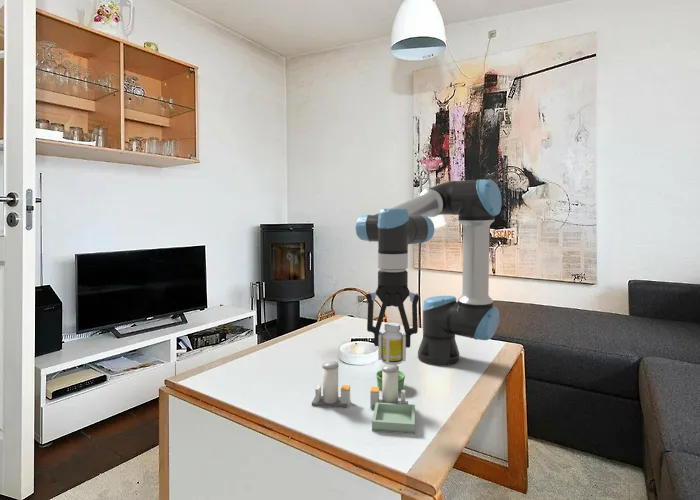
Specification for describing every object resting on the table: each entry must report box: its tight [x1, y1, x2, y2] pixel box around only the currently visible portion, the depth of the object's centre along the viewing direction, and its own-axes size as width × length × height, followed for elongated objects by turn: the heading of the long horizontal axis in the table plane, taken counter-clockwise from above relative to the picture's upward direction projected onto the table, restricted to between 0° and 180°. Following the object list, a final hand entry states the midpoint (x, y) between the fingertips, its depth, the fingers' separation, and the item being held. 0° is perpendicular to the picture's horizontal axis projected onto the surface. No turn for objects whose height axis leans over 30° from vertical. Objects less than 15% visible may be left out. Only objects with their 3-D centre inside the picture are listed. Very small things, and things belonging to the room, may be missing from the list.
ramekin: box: [375, 369, 406, 393], centre depth 132 cm, size 9×9×4 cm
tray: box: [371, 402, 416, 435], centre depth 111 cm, size 11×11×2 cm
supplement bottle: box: [381, 322, 403, 366], centre depth 109 cm, size 5×5×10 cm
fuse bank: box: [311, 360, 409, 411], centre depth 120 cm, size 27×5×12 cm, turn 81°
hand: (392, 358), depth 110 cm, fingers closed on supplement bottle, 5 cm apart
